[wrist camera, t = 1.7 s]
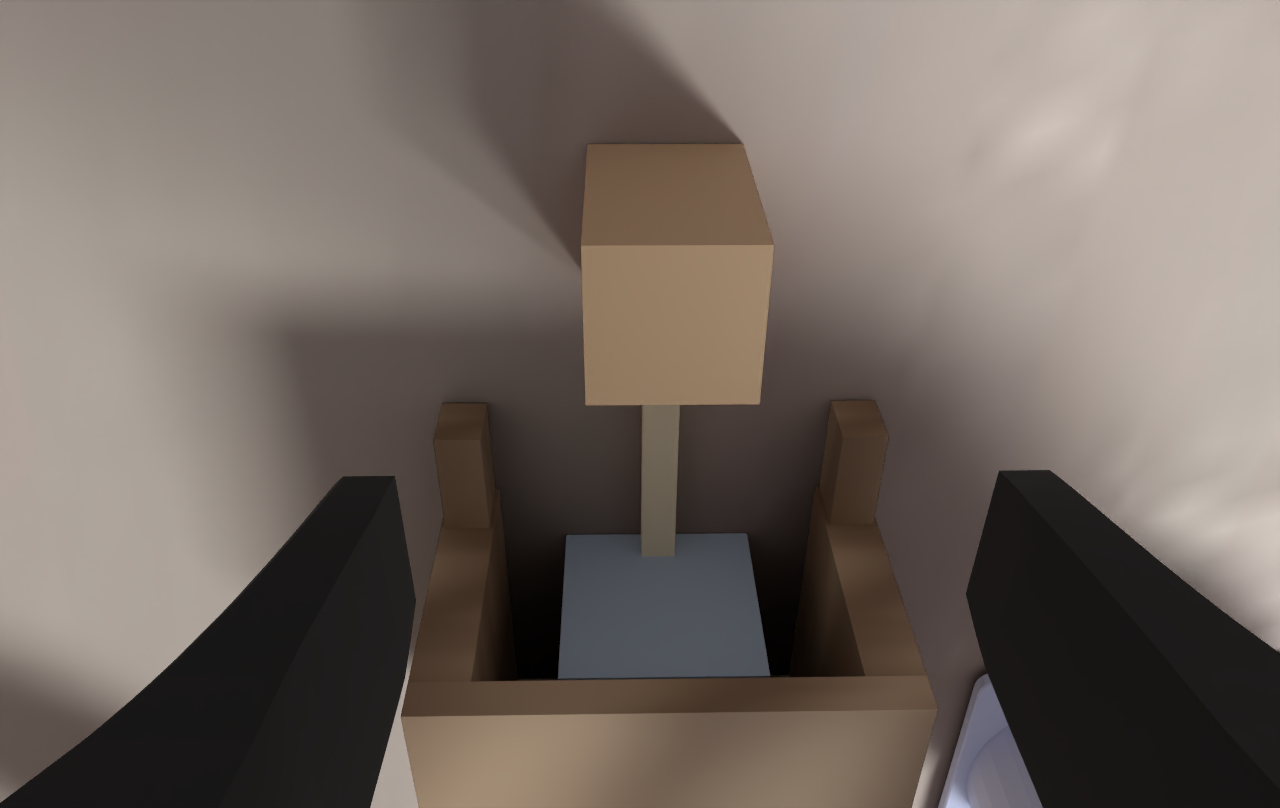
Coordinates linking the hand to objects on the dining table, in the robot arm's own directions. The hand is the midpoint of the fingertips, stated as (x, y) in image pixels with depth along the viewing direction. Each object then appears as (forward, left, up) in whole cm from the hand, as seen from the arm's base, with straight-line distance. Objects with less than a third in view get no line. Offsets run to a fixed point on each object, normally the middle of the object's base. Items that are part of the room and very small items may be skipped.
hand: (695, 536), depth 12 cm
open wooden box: (0, +10, -10) cm, 14 cm away
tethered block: (0, +6, -9) cm, 11 cm away
